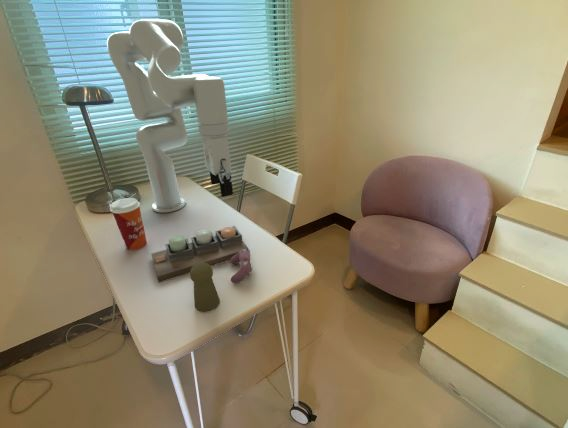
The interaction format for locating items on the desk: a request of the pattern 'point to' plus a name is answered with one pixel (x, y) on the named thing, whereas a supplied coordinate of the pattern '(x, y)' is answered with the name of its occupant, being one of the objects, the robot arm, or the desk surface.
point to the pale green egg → (177, 244)
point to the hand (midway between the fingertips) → (221, 189)
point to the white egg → (203, 236)
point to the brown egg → (228, 232)
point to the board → (196, 255)
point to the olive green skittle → (204, 288)
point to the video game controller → (241, 265)
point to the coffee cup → (129, 222)
